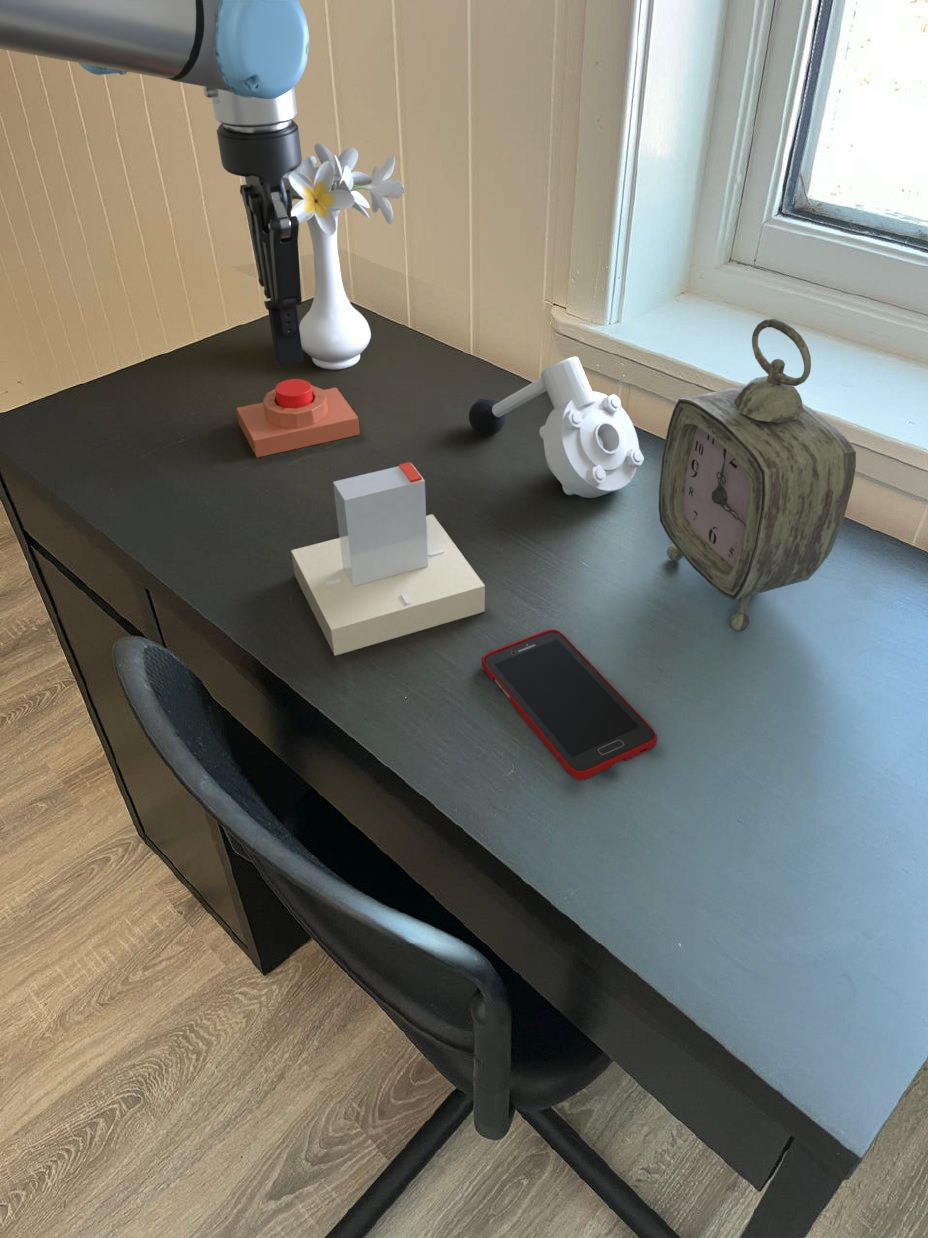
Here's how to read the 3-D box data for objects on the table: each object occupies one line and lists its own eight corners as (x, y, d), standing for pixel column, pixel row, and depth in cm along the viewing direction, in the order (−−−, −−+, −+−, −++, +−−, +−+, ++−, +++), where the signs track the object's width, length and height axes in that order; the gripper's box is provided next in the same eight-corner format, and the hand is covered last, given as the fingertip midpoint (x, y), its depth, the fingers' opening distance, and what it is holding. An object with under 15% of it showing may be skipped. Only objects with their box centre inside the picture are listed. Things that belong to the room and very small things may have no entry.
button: (282, 412, 104) (280, 398, 103) (273, 397, 107) (270, 382, 106) (317, 405, 105) (315, 391, 104) (307, 390, 108) (305, 376, 107)
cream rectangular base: (334, 656, 80) (330, 628, 78) (294, 575, 88) (290, 548, 86) (485, 611, 84) (485, 584, 82) (433, 539, 92) (432, 512, 90)
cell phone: (576, 786, 69) (577, 777, 68) (477, 664, 79) (477, 656, 78) (661, 746, 72) (662, 738, 71) (555, 634, 81) (555, 625, 81)
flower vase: (424, 349, 124) (417, 143, 108) (313, 397, 114) (286, 178, 98) (360, 320, 131) (344, 122, 115) (250, 363, 121) (215, 153, 105)
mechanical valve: (594, 501, 92) (533, 356, 90) (489, 541, 106) (435, 417, 105) (660, 469, 97) (603, 333, 96) (551, 511, 112) (501, 393, 111)
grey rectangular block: (353, 586, 82) (344, 497, 76) (342, 567, 84) (332, 479, 78) (428, 566, 84) (424, 477, 78) (415, 547, 86) (411, 460, 80)
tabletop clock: (647, 553, 90) (686, 297, 74) (729, 532, 93) (783, 280, 76) (732, 648, 80) (798, 376, 64) (821, 623, 83) (907, 354, 66)
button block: (256, 457, 104) (251, 425, 101) (239, 424, 109) (233, 393, 107) (359, 434, 108) (357, 403, 105) (338, 403, 113) (334, 372, 110)
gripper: (201, 110, 91) (241, 342, 106) (233, 144, 82) (271, 392, 97) (277, 101, 93) (305, 330, 109) (316, 134, 84) (341, 378, 99)
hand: (289, 359), depth 103 cm, fingers closed
